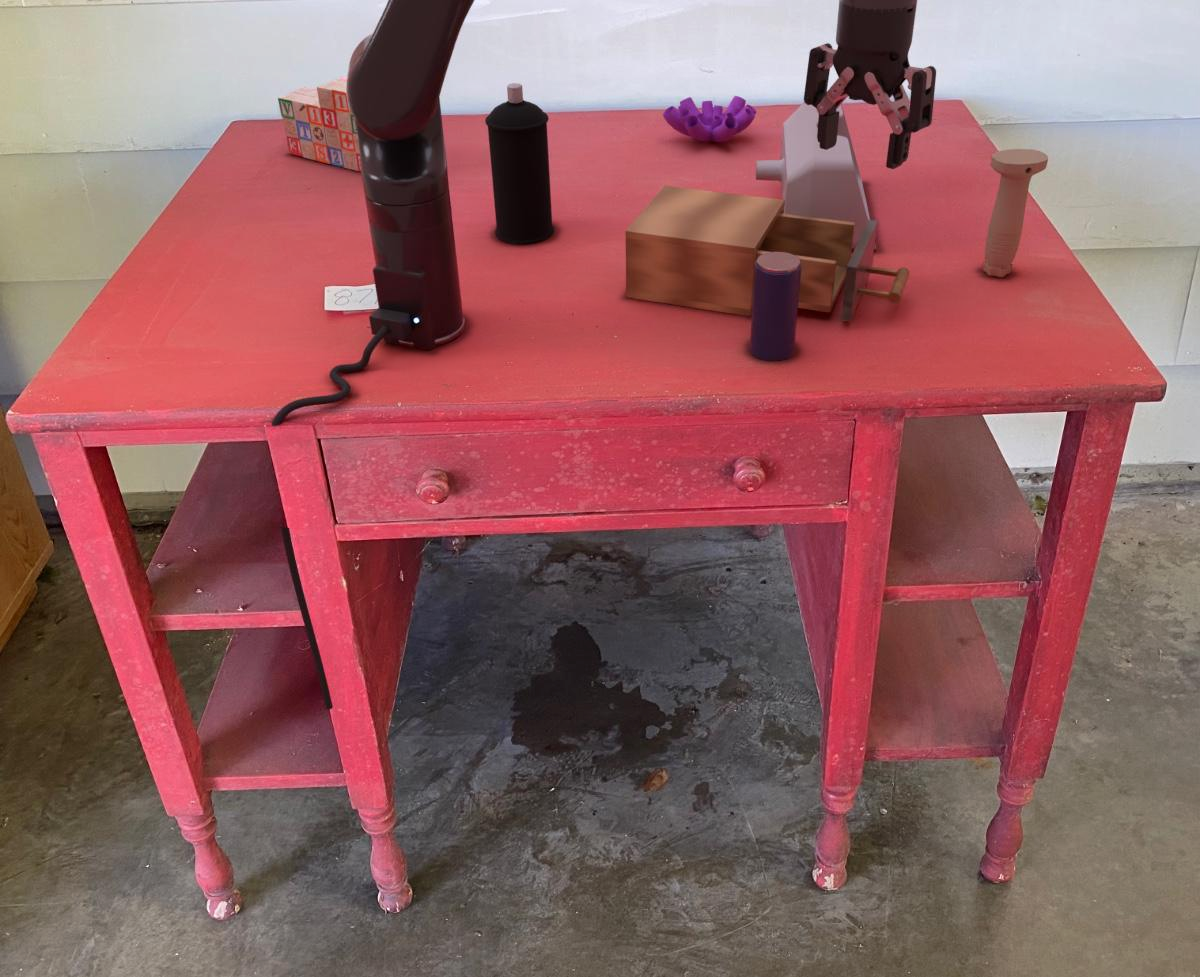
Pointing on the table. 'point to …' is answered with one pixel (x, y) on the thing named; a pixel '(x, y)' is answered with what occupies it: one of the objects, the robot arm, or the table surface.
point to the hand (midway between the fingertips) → (860, 156)
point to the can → (775, 305)
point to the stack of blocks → (321, 124)
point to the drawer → (831, 261)
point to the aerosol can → (520, 170)
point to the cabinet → (698, 248)
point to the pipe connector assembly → (710, 119)
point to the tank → (818, 172)
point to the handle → (1009, 206)
